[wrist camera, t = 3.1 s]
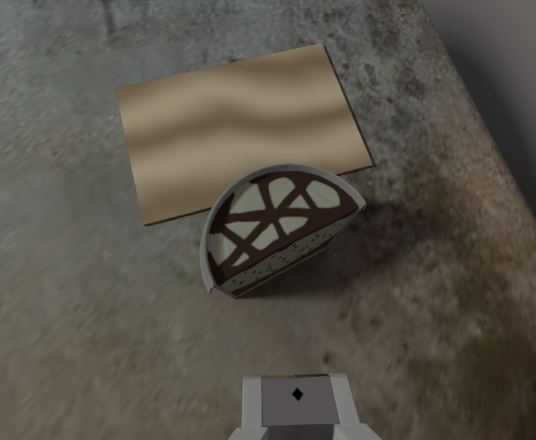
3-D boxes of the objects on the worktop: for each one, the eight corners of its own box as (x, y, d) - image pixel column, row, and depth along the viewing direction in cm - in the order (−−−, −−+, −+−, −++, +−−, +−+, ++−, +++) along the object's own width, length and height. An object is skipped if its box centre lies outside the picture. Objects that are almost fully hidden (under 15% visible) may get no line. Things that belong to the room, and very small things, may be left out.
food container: (306, 185, 37) (324, 127, 27) (341, 240, 35) (373, 199, 26) (188, 245, 35) (162, 205, 25) (219, 307, 33) (204, 289, 24)
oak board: (371, 166, 38) (372, 164, 37) (144, 226, 35) (143, 224, 35) (321, 45, 42) (321, 42, 42) (116, 90, 40) (115, 88, 39)
